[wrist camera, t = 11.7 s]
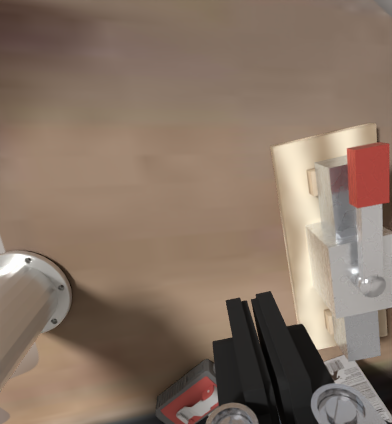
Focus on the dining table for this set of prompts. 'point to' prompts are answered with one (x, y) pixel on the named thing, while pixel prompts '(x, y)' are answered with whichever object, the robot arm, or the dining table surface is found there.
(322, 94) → the dining table surface
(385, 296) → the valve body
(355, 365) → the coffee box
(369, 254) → the lever
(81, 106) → the dining table surface
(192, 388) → the walkie-talkie
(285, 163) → the valve board
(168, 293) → the dining table surface
